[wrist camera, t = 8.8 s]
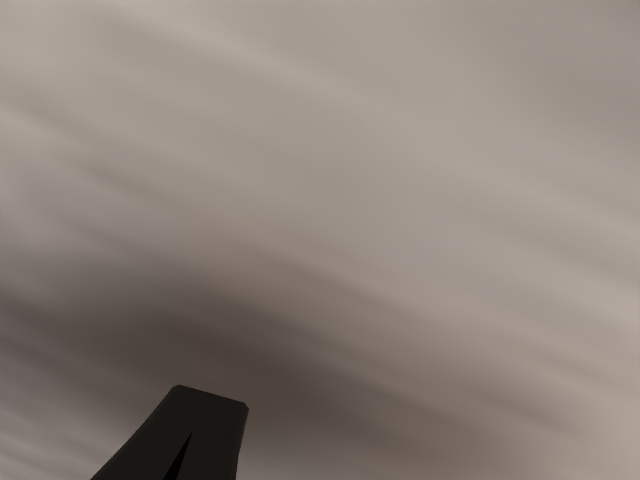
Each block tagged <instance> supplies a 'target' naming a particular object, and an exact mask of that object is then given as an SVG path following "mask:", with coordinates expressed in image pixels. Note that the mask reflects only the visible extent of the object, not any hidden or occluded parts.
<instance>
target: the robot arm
mask: <svg viewBox="0 0 640 480" xmlns="http://www.w3.org/2000/svg"><path fill="white" fill-rule="evenodd" d="M248 411H249V408H248V407H247V406H246V404H245V403H243V402H240V401H236V400H232V399H229V398H225V397H222V396H218V395H215V394H211V393H207V392H204V391H200V390H197V389H193V388H190V387H186V386H182V385H177V386H174V387H172V389H171V390H170V391H169V392H168V394H167V395H166V396H165V398H164V399H163V400H162V402H161V403H160V404H159V405H158V406H157V408H156V409H155V410H154V411H153V413H152V414H151V415H150V416H149V417H148V418H147V420H146V421H145V422H144V423H143V424H142V425H141V426H140V428H139V429H138V430H137V431H136V432H135V433H134V434H133V435H132V436H131V438H130V439H129V440H128V441H127V442H126V443H125V444H124V445H123V446H122V447H121V448H120V449H119V450H118V451H117V452H116V454H115V455H114V456H113V457H112V458H111V459H110V460H109V461H108V462H107V463H106V464H105V465H104V466H103V467H102V468H101V469H100V470H99V471H98V472H97V473H96V474H95V475H94V476H93V477H92V478H91V479H90V480H236V472H237V463H238V455H239V451H240V447H241V442H242V438H243V433H244V429H245V424H246V420H247V415H248Z"/></svg>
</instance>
